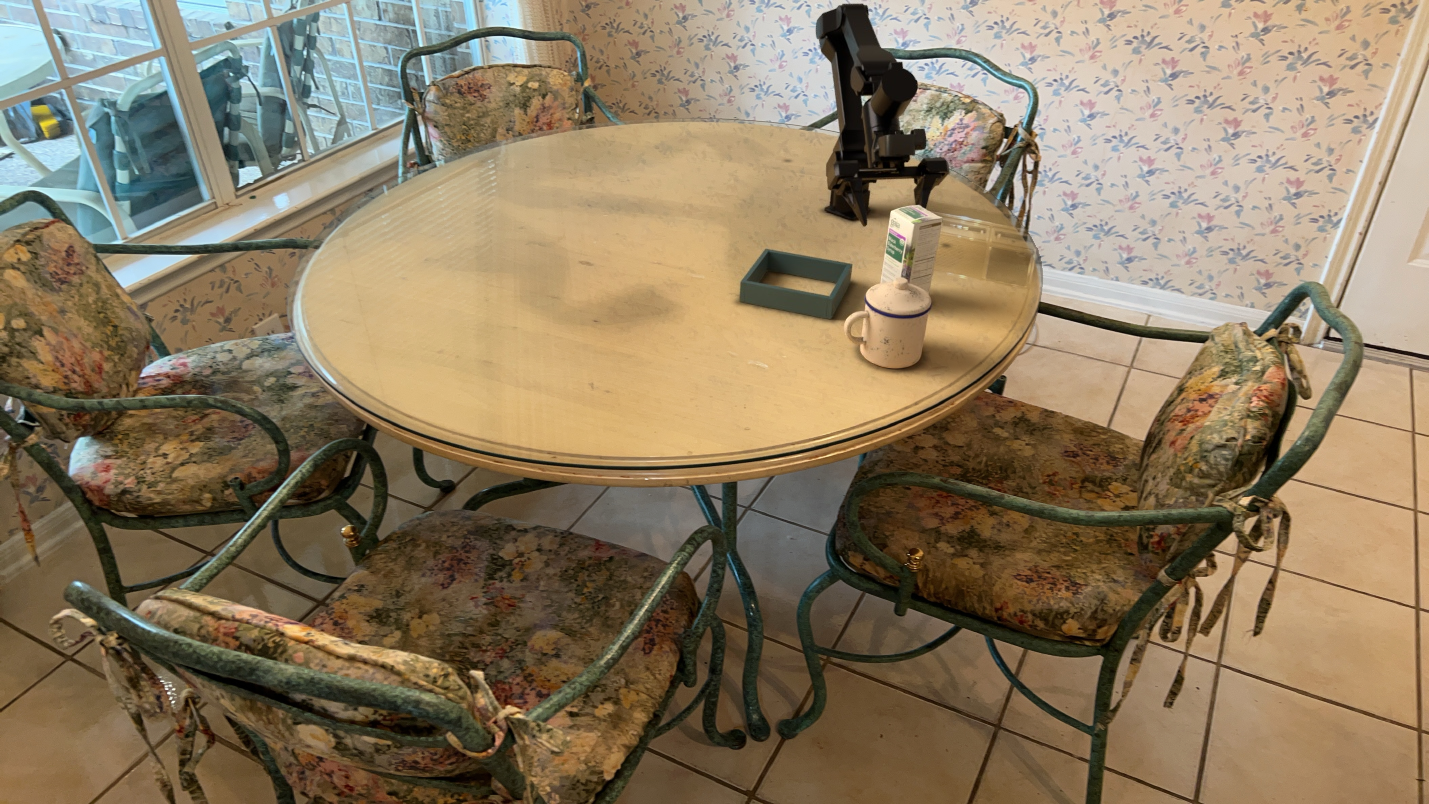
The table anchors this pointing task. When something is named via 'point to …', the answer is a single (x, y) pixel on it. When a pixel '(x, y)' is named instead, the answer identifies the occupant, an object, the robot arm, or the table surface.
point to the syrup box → (911, 246)
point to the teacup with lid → (892, 323)
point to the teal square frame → (789, 297)
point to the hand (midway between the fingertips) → (893, 224)
